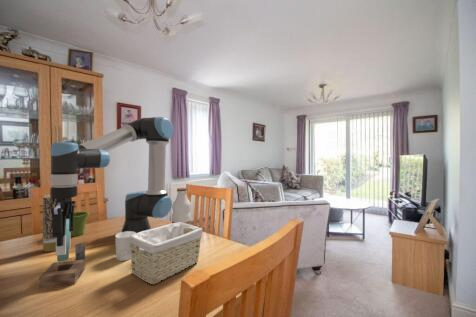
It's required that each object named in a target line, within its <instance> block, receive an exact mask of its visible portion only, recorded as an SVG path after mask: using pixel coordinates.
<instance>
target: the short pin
mask: <svg viewBox="0 0 476 317" xmlns="http://www.w3.org/2000/svg"><path fill="white" fill-rule="evenodd" d="M83 259H85V260H86V243H84V242H80V243H77V244H75V259H74V261H75V260H83Z"/></svg>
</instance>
